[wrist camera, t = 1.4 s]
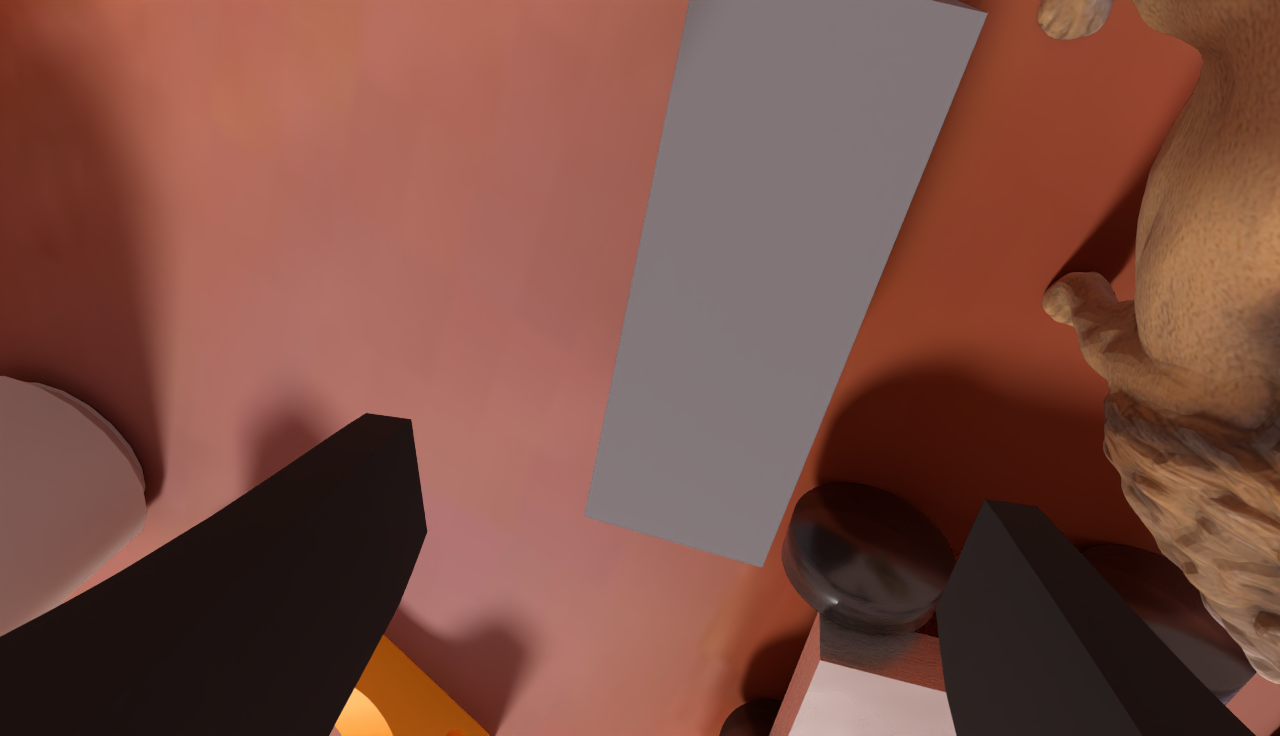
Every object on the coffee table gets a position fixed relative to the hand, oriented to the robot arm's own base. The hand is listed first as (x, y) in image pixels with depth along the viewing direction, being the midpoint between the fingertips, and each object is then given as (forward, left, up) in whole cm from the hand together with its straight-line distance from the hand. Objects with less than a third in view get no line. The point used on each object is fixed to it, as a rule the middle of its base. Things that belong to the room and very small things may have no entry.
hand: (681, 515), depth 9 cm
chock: (0, -1, -10) cm, 10 cm away
